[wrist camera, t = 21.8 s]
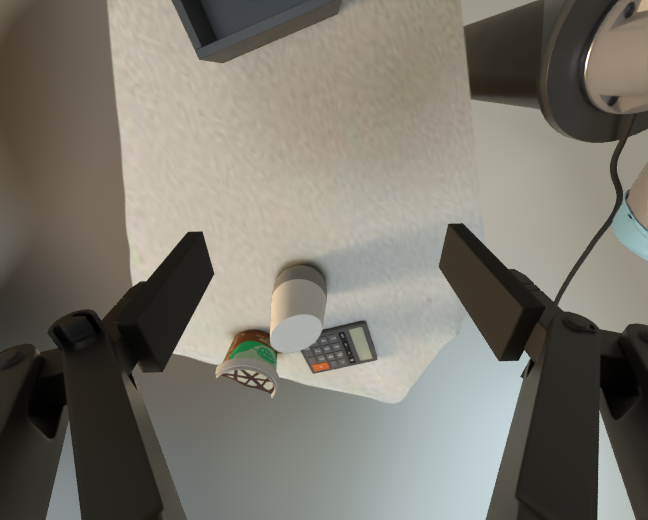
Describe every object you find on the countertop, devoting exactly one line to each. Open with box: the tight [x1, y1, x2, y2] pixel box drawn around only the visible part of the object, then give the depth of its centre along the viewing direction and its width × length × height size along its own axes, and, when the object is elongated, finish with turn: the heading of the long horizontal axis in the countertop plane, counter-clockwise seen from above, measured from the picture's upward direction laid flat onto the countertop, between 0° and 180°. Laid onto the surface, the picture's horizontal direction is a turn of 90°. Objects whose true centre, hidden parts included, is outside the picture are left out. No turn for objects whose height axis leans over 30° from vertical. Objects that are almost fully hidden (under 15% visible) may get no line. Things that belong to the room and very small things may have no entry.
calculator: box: [301, 321, 377, 373], centre depth 62 cm, size 12×1×15 cm
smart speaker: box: [270, 265, 327, 353], centre depth 47 cm, size 10×9×14 cm
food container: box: [216, 330, 279, 398], centre depth 56 cm, size 12×6×10 cm, turn 55°
